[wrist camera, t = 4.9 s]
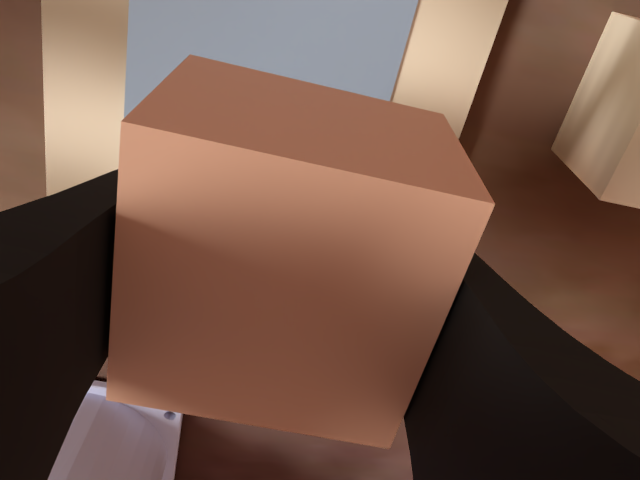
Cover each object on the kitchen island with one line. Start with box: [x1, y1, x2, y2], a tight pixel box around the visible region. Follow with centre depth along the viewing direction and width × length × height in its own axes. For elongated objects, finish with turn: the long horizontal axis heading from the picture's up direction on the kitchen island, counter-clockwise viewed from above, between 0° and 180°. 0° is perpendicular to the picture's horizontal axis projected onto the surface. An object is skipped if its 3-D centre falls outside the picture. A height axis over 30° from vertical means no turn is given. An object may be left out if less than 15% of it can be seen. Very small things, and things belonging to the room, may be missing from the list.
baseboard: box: [41, 0, 508, 196], centre depth 17 cm, size 13×13×1 cm
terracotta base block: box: [106, 54, 495, 449], centre depth 10 cm, size 5×5×4 cm
